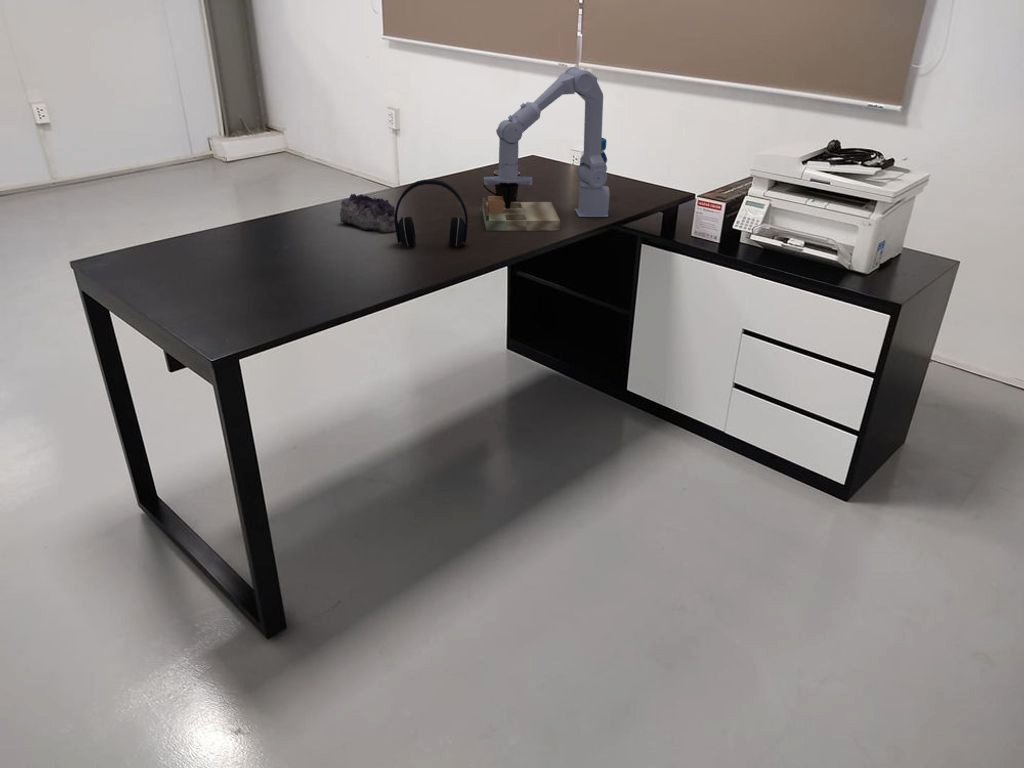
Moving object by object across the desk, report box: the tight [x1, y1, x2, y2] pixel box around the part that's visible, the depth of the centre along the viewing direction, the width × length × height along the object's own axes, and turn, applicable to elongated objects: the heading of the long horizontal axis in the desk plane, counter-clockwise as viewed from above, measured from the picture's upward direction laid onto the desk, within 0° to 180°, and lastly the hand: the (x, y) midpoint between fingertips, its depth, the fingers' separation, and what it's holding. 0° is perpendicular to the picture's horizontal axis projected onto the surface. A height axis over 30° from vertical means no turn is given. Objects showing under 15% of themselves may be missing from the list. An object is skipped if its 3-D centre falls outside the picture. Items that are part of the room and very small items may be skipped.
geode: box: [339, 193, 396, 235], centre depth 228 cm, size 20×12×10 cm, turn 55°
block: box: [487, 195, 504, 213], centre depth 235 cm, size 4×4×4 cm
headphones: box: [395, 178, 469, 248], centre depth 211 cm, size 20×7×18 cm, turn 93°
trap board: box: [482, 197, 561, 232], centre depth 237 cm, size 22×20×4 cm
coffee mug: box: [482, 169, 521, 202], centre depth 253 cm, size 12×9×10 cm
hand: (507, 207), depth 236 cm, fingers closed
